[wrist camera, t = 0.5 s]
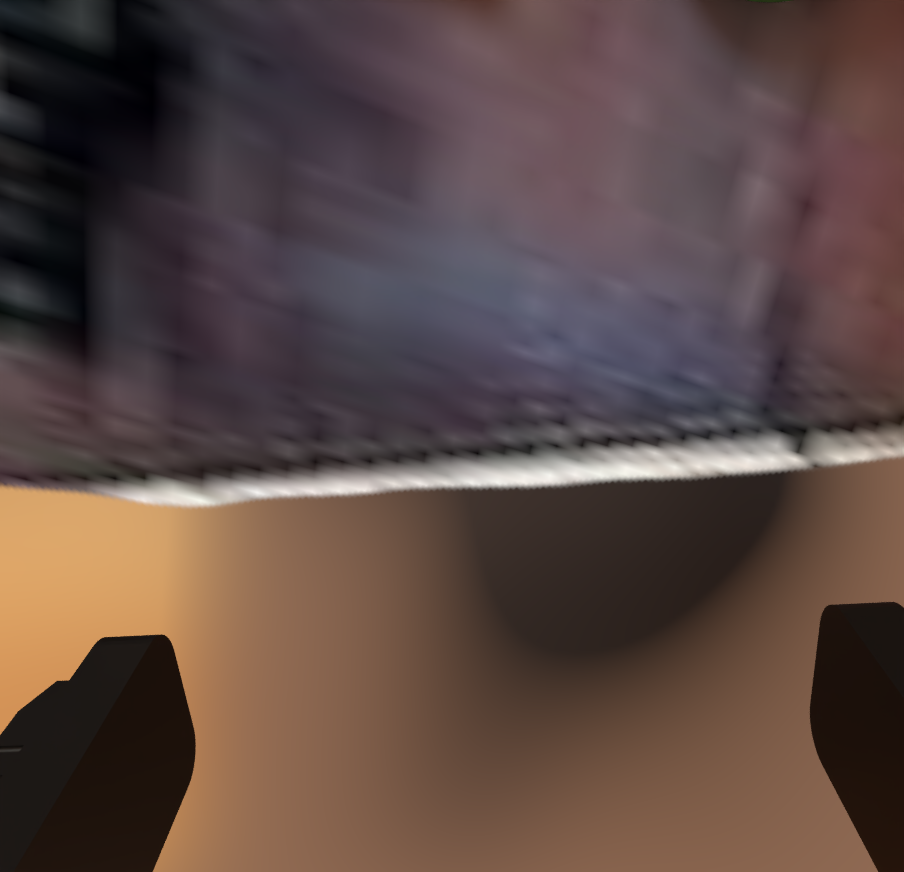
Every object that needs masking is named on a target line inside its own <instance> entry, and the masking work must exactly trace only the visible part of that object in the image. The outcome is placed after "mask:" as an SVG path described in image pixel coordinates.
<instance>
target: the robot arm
mask: <svg viewBox="0 0 904 872" xmlns="http://www.w3.org/2000/svg"><path fill="white" fill-rule="evenodd" d="M810 723H811V731H812V736H813V740H814V744H815V748H816V751H817V754H818V756H819V759H820V761H821V763H822V765H823V767H824V769H825V771H826V773H827V775H828V777H829V779H830V781H831V782H832V784H833V786H834V788H835V790H836V792H837V794H838V796H839V798H840V800H841V802H842V803H843V805H844V807H845V809H846V811H847V813H848V815H849V817H850V819H851V821H852V822H853V824H854V826H855V828H856V830H857V832H858V834H859V836H860V838H861V839H862V842H863V843H864V845H865V847H866V849H867V851H868V853H869V855H870V857H871V859H872V861H873V862H874V864H875V866H876V868H877V870H878V872H904V608H903V607H902V606H901V605H899V604H898V603H895V602H881V603H861V604H839V605H828V606H827V607H826V608H825V609H824V611H823V613H822V616H821V621H820V627H819V636H818V644H817V652H816V660H815V669H814V677H813V686H812V694H811V703H810ZM195 746H196V745H195V732H194V728H193V723H192V719H191V715H190V712H189V708H188V704H187V700H186V696H185V692H184V688H183V684H182V680H181V676H180V672H179V668H178V664H177V660H176V656H175V652H174V649H173V646H172V643H171V641H170V640H169V638H167V637H166V636H165V635H144V636H123V637H104V638H102V639H100V640H99V641H97V643H96V644H95V645H94V646H93V647H92V649H91V650H90V652H89V653H88V655H87V656H86V657H85V659H84V660H83V662H82V663H81V665H80V666H79V668H78V669H77V670H76V672H75V673H74V675H73V676H72V677H71V679H70V680H69V681H56V682H55V683H54V684H53V685H51V686H50V687H49V688H48V689H46V690H45V691H44V692H42V693H41V694H40V695H39V696H37V697H36V698H35V699H33V700H32V701H31V702H30V703H28V704H27V705H26V706H24V707H23V708H22V709H21V710H19V711H18V712H17V714H16V715H15V717H14V718H13V719H12V721H11V722H10V723H9V724H8V726H7V727H6V729H5V730H4V731H3V732H2V734H1V735H0V872H153V870H154V867H155V865H156V862H157V860H158V857H159V855H160V853H161V850H162V848H163V846H164V843H165V841H166V839H167V836H168V834H169V831H170V829H171V826H172V824H173V822H174V819H175V817H176V815H177V812H178V810H179V807H180V805H181V803H182V800H183V798H184V796H185V793H186V791H187V788H188V786H189V783H190V781H191V776H192V773H193V768H194V762H195Z"/></svg>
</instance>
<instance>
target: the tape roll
mask: <svg viewBox="0 0 904 872" xmlns="http://www.w3.org/2000/svg"><path fill="white" fill-rule="evenodd" d="M748 1H755V2H783V1H792V0H748Z"/></svg>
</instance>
